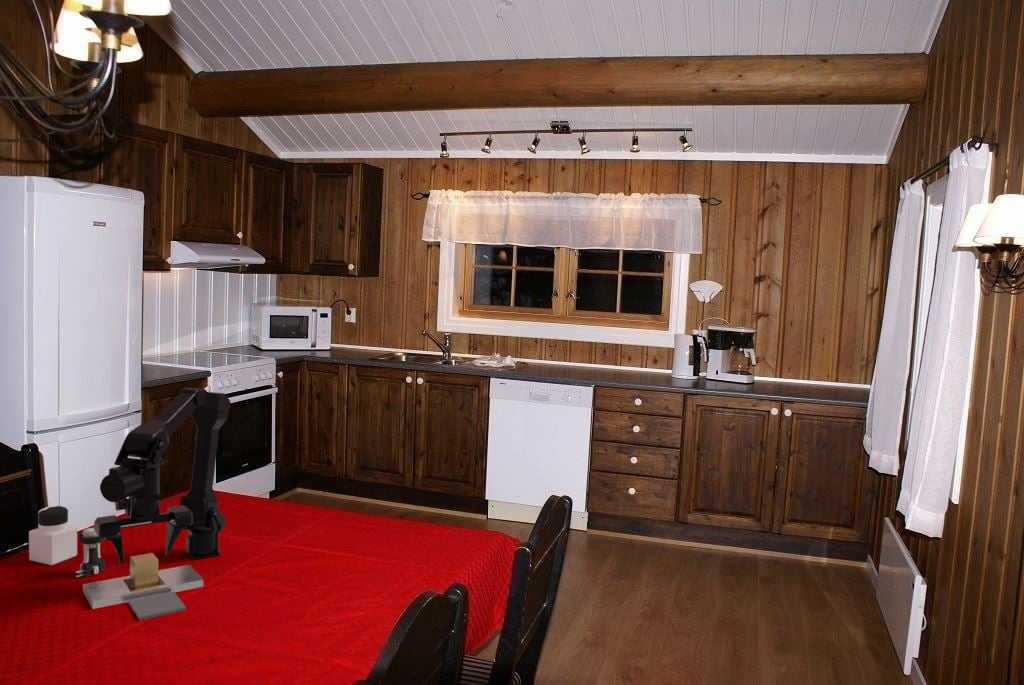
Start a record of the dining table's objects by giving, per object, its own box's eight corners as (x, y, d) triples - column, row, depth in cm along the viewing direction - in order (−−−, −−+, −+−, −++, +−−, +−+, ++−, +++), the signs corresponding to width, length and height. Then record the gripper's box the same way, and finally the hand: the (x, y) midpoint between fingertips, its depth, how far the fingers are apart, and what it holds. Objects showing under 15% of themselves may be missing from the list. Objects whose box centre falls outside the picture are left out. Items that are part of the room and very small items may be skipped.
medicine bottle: (77, 555, 192) (77, 506, 191) (51, 565, 186) (51, 514, 184) (54, 550, 195) (54, 502, 193) (28, 560, 188) (28, 510, 187)
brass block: (152, 583, 179) (152, 552, 178) (158, 590, 175) (158, 559, 175) (129, 587, 176) (130, 556, 175) (135, 595, 173) (135, 563, 172)
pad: (173, 594, 174) (173, 591, 174) (186, 610, 167) (186, 607, 167) (128, 603, 168) (128, 600, 168) (139, 620, 161) (139, 617, 161)
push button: (84, 581, 178) (84, 537, 177) (67, 576, 180) (67, 533, 179) (110, 571, 184) (110, 528, 183) (93, 566, 186) (93, 524, 185)
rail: (189, 571, 186) (189, 564, 186) (203, 586, 179) (203, 579, 178) (82, 591, 173) (82, 584, 173) (92, 608, 165) (92, 601, 165)
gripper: (179, 474, 186) (178, 540, 187) (88, 485, 174) (88, 555, 176) (194, 486, 177) (193, 555, 179) (99, 498, 165) (100, 572, 167)
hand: (144, 559), depth 175 cm, fingers open, 9 cm apart
